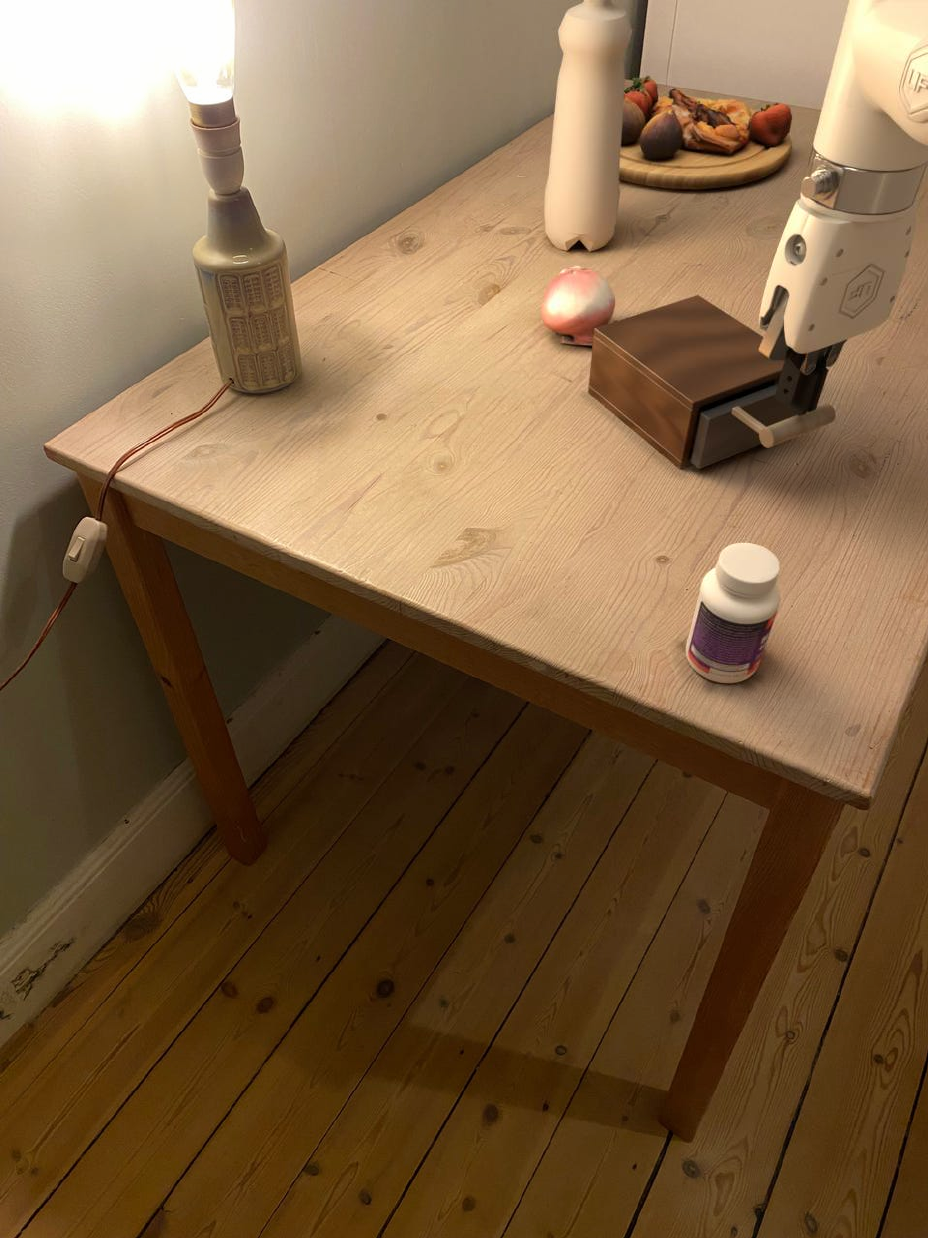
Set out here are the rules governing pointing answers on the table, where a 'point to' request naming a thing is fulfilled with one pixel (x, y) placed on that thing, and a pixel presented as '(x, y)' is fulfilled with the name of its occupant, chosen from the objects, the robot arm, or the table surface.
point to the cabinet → (674, 369)
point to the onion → (577, 305)
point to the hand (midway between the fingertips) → (794, 404)
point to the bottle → (587, 126)
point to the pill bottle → (734, 614)
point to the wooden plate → (699, 139)
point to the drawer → (750, 424)
